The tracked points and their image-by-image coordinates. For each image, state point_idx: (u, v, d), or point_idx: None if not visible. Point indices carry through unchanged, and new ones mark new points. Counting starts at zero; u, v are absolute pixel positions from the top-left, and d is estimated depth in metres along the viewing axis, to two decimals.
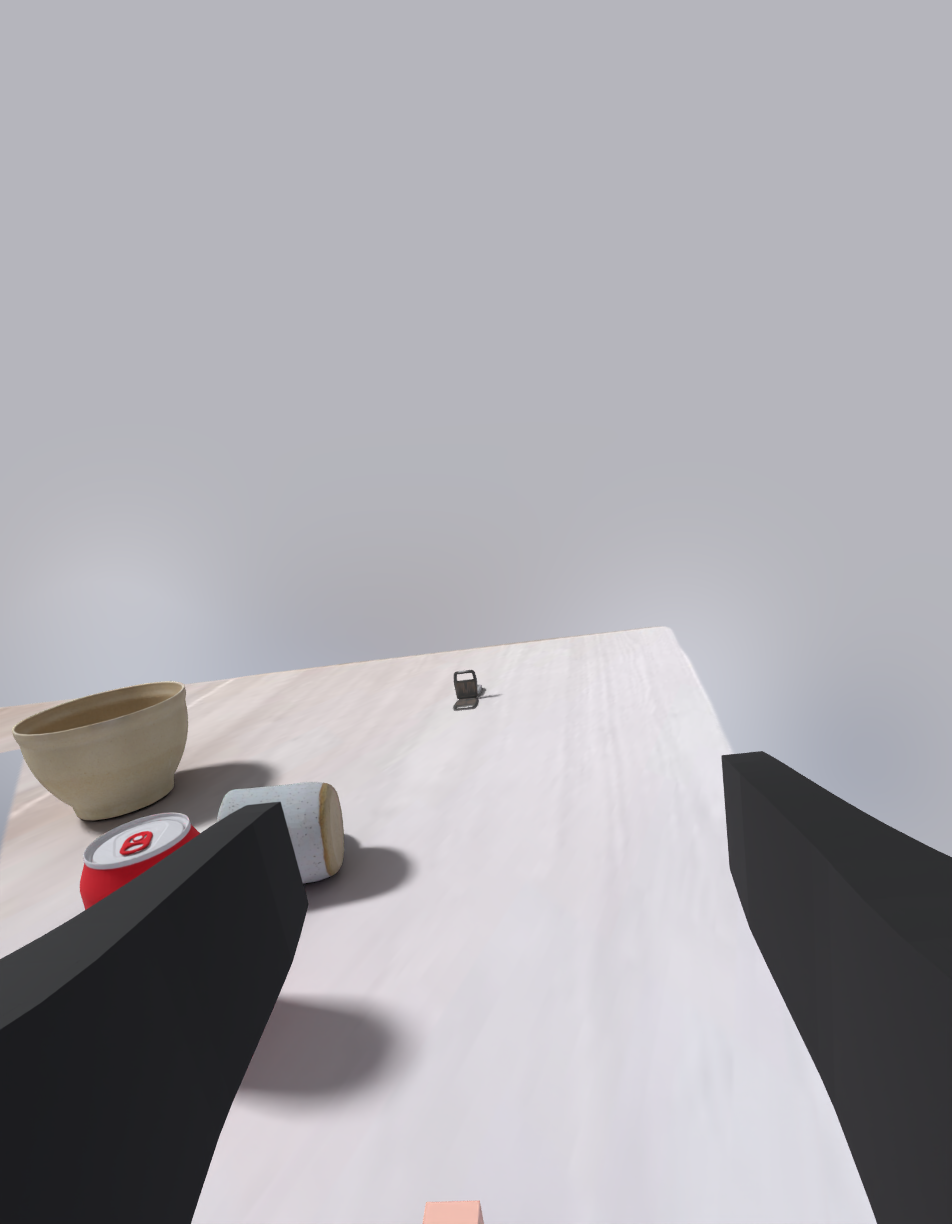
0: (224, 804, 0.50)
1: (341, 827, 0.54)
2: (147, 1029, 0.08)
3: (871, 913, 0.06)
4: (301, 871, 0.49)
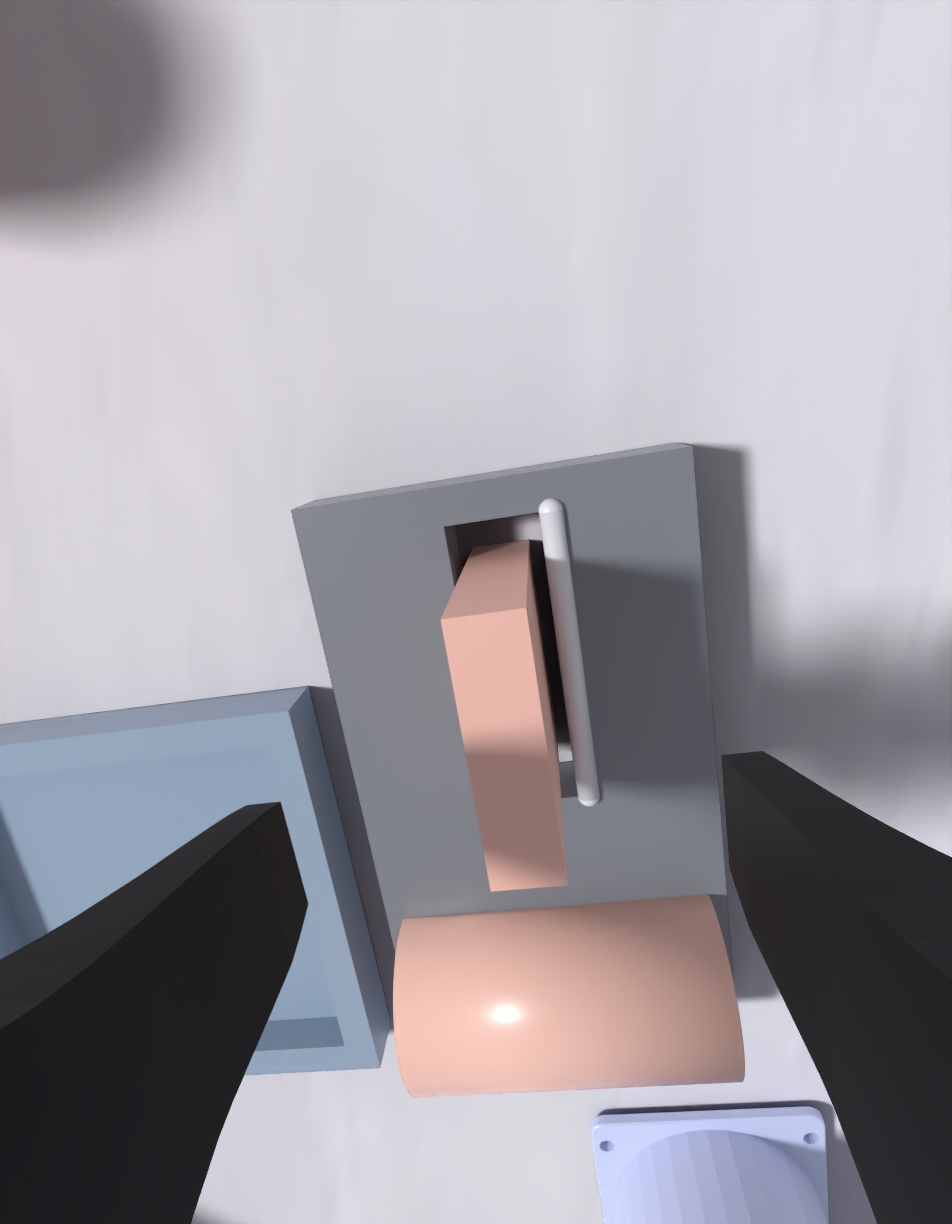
0: None
1: None
2: (147, 1030, 0.08)
3: (871, 913, 0.06)
4: None
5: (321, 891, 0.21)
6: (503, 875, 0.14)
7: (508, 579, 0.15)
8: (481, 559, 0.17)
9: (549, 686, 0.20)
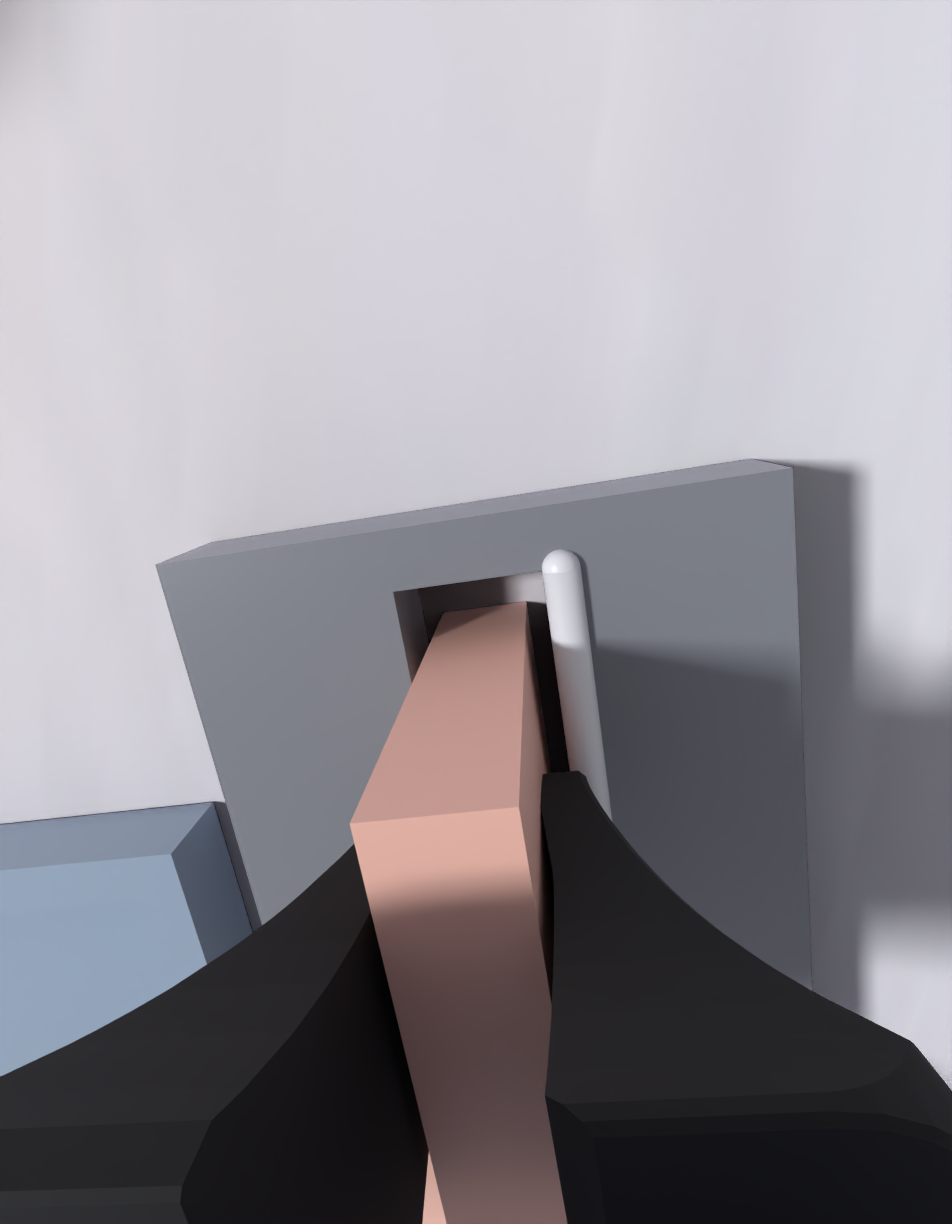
0: None
1: None
2: (385, 1014, 0.07)
3: None
4: None
5: None
6: None
7: (490, 702, 0.09)
8: (452, 642, 0.11)
9: None
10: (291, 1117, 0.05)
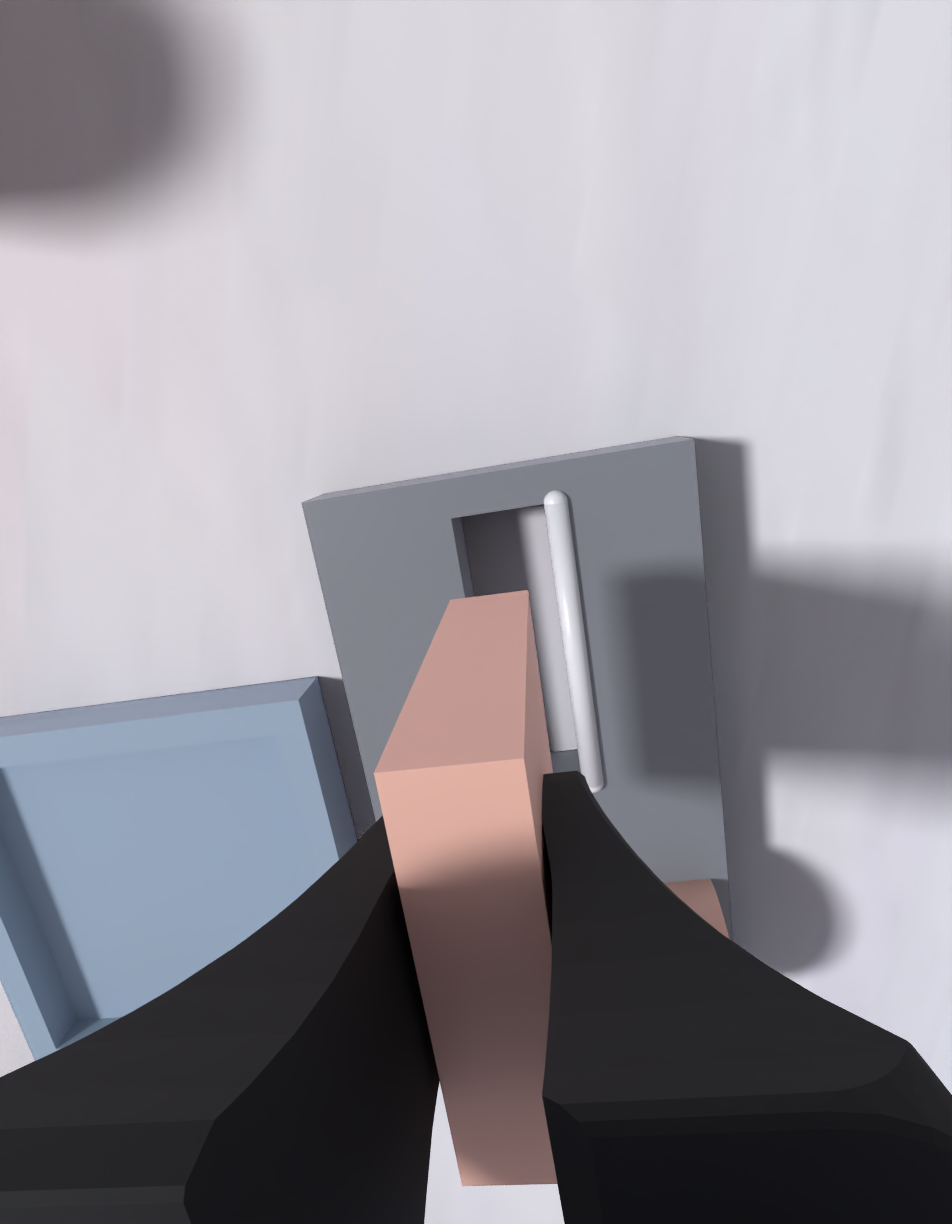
0: None
1: None
2: (388, 1014, 0.07)
3: None
4: None
5: None
6: (483, 1164, 0.09)
7: (496, 675, 0.09)
8: (459, 625, 0.12)
9: None
10: (294, 1117, 0.05)
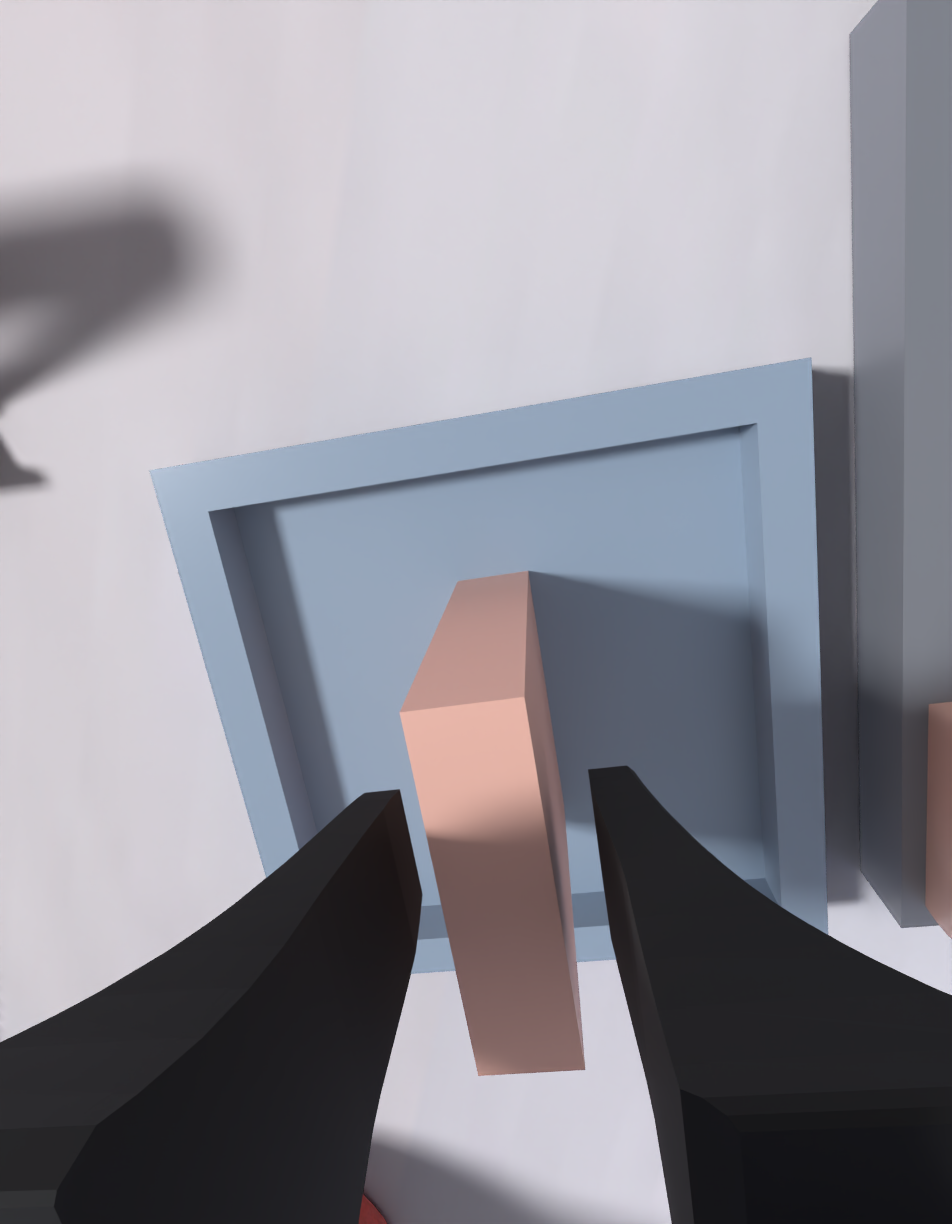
0: None
1: None
2: (320, 1019, 0.07)
3: None
4: None
5: (799, 666, 0.14)
6: (495, 1055, 0.10)
7: (500, 638, 0.11)
8: (466, 601, 0.14)
9: (555, 753, 0.16)
10: (197, 1121, 0.05)
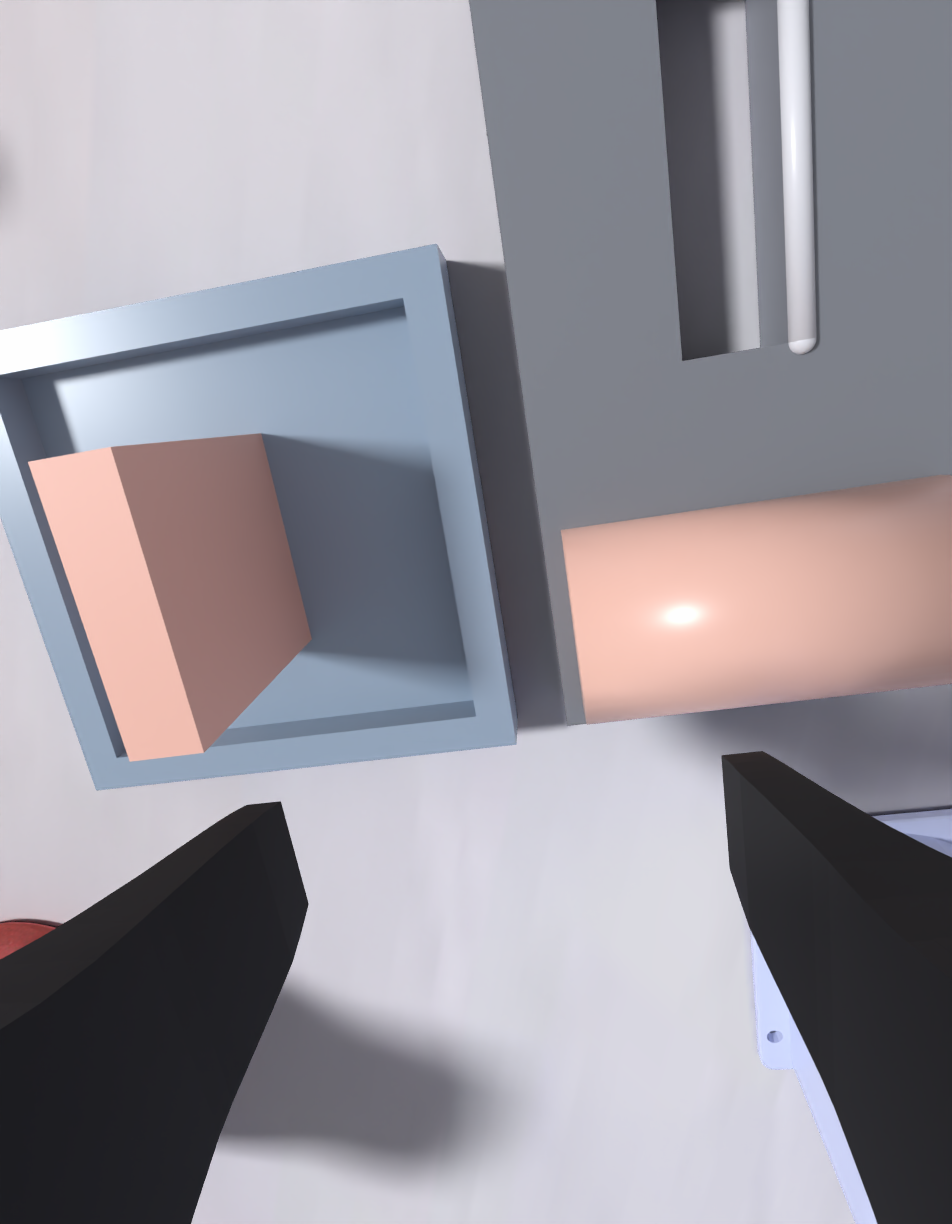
0: None
1: None
2: (147, 1029, 0.08)
3: (871, 914, 0.06)
4: None
5: (461, 502, 0.18)
6: (139, 743, 0.14)
7: None
8: None
9: (293, 588, 0.19)
10: None
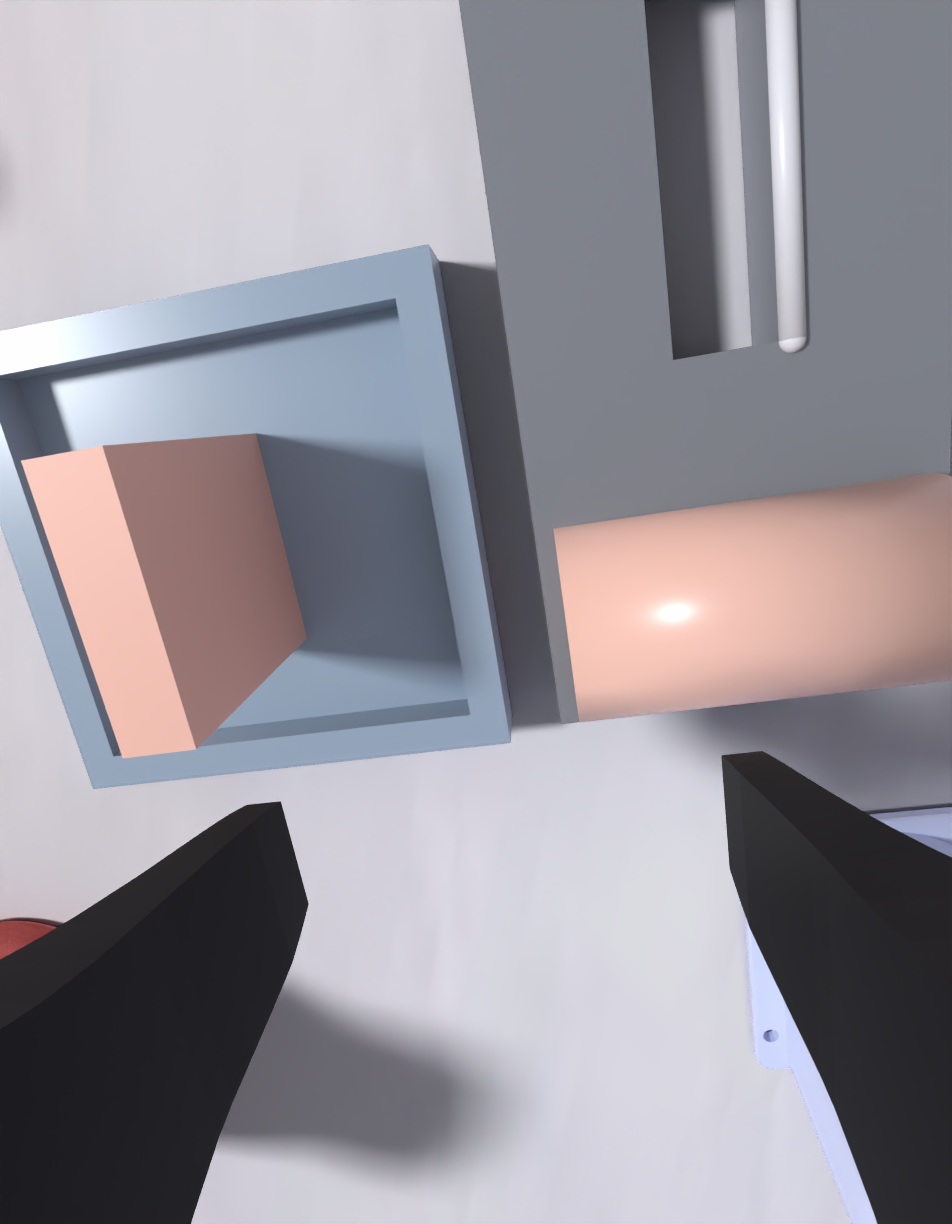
0: None
1: None
2: (147, 1029, 0.08)
3: (871, 913, 0.06)
4: None
5: (454, 501, 0.18)
6: (132, 740, 0.14)
7: None
8: None
9: (288, 587, 0.20)
10: None
